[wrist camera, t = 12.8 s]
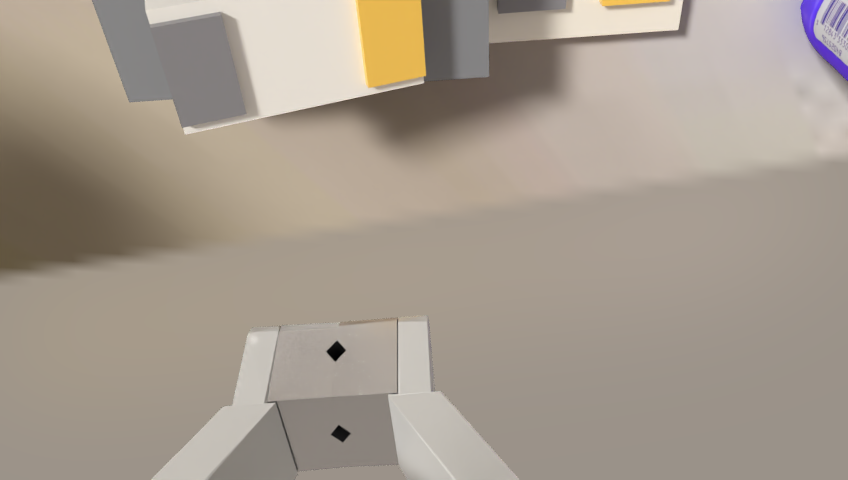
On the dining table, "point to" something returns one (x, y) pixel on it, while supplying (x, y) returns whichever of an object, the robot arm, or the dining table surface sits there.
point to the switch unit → (442, 31)
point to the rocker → (282, 54)
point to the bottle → (828, 30)
